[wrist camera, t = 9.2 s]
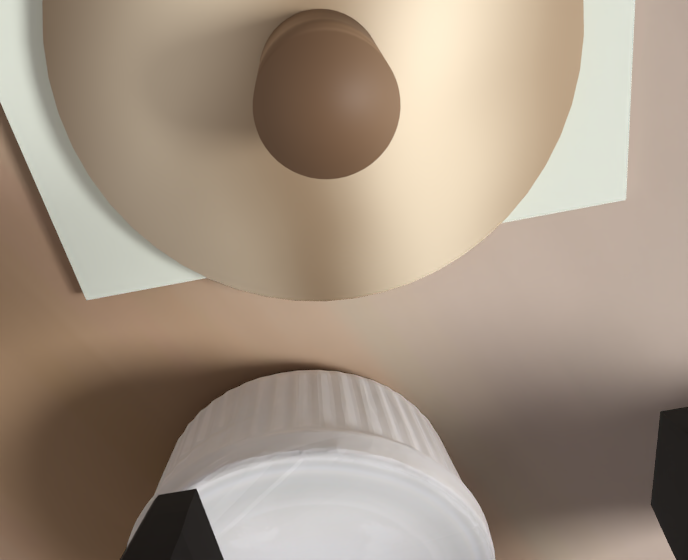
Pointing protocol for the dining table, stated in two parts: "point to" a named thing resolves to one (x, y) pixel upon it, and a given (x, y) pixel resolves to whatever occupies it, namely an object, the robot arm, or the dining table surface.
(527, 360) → the dining table surface
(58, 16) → the lid
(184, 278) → the mat
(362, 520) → the ramekin
